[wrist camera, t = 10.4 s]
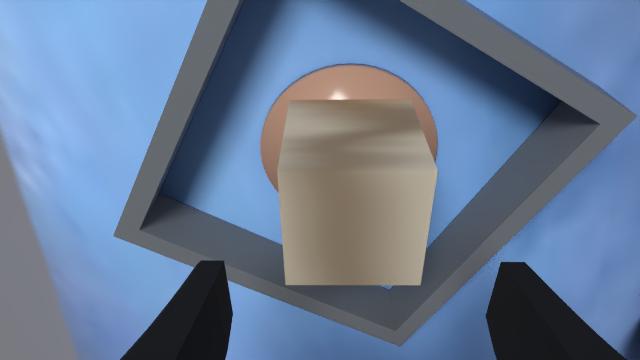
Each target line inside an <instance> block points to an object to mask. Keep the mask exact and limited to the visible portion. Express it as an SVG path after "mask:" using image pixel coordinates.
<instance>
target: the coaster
mask: <svg viewBox="0 0 640 360" xmlns="http://www.w3.org/2000/svg"><path fill="white" fill-rule="evenodd" d="M347 99H411V101H412V104H413V106H414V109H415V112H416V114H417V117H418V120H419V122H420V125H421V127H422V130H423V133H424V135H425V138H426V141H427V143H428V146H429V149H430V151H431V154H432V157H433V159H434V162H435V158H436V154H437V142H438V141H437V131H436V127H435V123H434V120H433V117H432V115H431V113H430V110H429V108H428V106H427V104H426V103H425V101H424V100H423V98H422V97H421V96H420V94H419V93H418V92H417V91H416V90H415V89H414V88H413V87H412V86H411V85H410V84H409V83H408V82H406V81H405V80H403V79H402V78H400V77H399V76H397V75H395V74H393V73H391V72H389V71H387V70H384V69H381V68H378V67H375V66H370V65H364V64H350V63H349V64H337V65H332V66H327V67H323V68H320V69H317V70H314V71H312V72H310V73H308V74H306V75H304V76H302V77H300V78H299V79H297V80H296V81H295V82H293V83H292V84H291V85H289V86H288V87H287V88H286V89H285V90H284V91H283V92H282V93H281V94H280V95H279V97H278V98H277V99H276V100H275V102H274V104H273V105H272V107H271V108H270V110H269V113H268V115H267V117H266V120H265V123H264V127H263V131H262V136H261V157H262V163H263V166H264V169H265V172H266V174H267V176H268V178H269V180H270V182H271V183H272V185H273V186H274V188H275V189H276V190H277V192H278V193H279V189H278V175H277V170H278V164H279V158H280V152H281V146H282V140H283V134H284V129H285V123H286V117H287V111H288V105H289V100H347Z"/></svg>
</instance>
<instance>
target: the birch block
mask: <svg viewBox="0 0 640 360" xmlns="http://www.w3.org/2000/svg"><path fill="white" fill-rule="evenodd" d="M437 173H438V170H437V167H436V165H435V162H434V159H433V157H432V154H431V151H430V149H429V146H428V143H427V141H426V138H425V135H424V133H423V130H422V127H421V125H420V122H419V120H418V117H417V114H416V112H415V109H414V106H413V104H412V101H411V99H347V100H289V105H288V111H287V117H286V123H285V129H284V134H283V140H282V146H281V152H280V158H279V164H278V170H277V175H278V189H279V202H280V216H281V230H282V243H283V257H284V271H285V284H286V285H421V279H422V272H423V265H424V259H425V252H426V246H427V239H428V233H429V226H430V219H431V213H432V206H433V200H434V193H435V187H436V180H437Z"/></svg>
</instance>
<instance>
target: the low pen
mask: <svg viewBox="0 0 640 360" xmlns="http://www.w3.org/2000/svg"><path fill="white" fill-rule="evenodd" d="M400 1H401V2H403V3H405V4H406V5H408V6H409V7H411V8H413V9H414V10H416V11H417V12H419V13H421V14H422V15H424V16H426V17H427V18H429V19H430V20H432V21H434V22H435V23H437V24H439V25H440V26H442V27H443V28H445V29H447V30H448V31H450V32H452V33H453V34H455V35H456V36H458V37H460V38H461V39H463V40H465V41H466V42H468V43H469V44H471V45H473V46H474V47H476V48H478V49H479V50H481V51H482V52H484V53H486V54H487V55H489V56H491V57H492V58H494V59H495V60H497V61H499V62H500V63H502V64H503V65H505V66H507V67H508V68H510V69H512V70H513V71H515V72H516V73H518V74H520V75H521V76H523V77H525V78H526V79H528V80H529V81H531V82H533V83H534V84H536V85H538V86H539V87H541V88H542V89H544V90H546V91H547V92H549V93H551V94H552V95H554V96H555V97H557V98H559V99H560V100H562V101H561V102H560V104H559V105H558V106H557V107H556V108H555V109H554V110H553V111H552V112H551V113H550V114H549V116H548V117H547V118H546V119H545V120H544V121H543V122H542V123H541V124H540V125H539V127H538V128H537V129H536V130H535V131H534V132H533V133H532V134H531V135H530V136H529V138H528V139H527V140H526V141H525V142H524V143H523V144H522V145H521V146H520V147H519V149H518V150H517V151H516V152H515V153H514V154H513V155H512V156H511V157H510V158H509V159H508V161H507V162H506V163H505V164H504V165H503V166H502V167H501V168H500V169H499V170H498V172H497V173H496V174H495V175H494V176H493V177H492V178H491V179H490V180H489V181H488V183H487V184H486V185H485V186H484V187H483V188H482V189H481V190H480V191H479V192H478V194H477V195H476V196H475V197H474V198H473V199H472V200H471V201H470V202H469V203H468V205H467V206H466V207H465V208H464V209H463V210H462V211H461V212H460V213H459V214H458V215H457V217H456V218H455V219H454V220H453V221H452V222H451V223H450V224H449V225H448V226H447V228H446V229H445V230H444V231H443V232H442V233H441V234H440V235H439V236H438V237H437V239H436V240H435V241H434V242H433V243H432V244H431V245H430V246H429V247H428V248H427V250H426V252H425V259H424V265H423V272H422V279H421V285H394V286H393V287H392V288H391V289H390V290H387V289H385V288H383V287H380V286H378V285H286V284H285V271H284V257H283V245H280V244H278V243H276V242H273V241H271V240H268V239H266V238H264V237H261V236H259V235H256V234H254V233H252V232H249V231H247V230H245V229H242V228H240V227H237V226H235V225H233V224H230V223H228V222H226V221H223V220H221V219H218V218H216V217H214V216H211V215H209V214H206V213H204V212H202V211H199V210H197V209H195V208H192V207H190V206H187V205H185V204H183V203H180V202H178V201H176V200H173V199H171V198H168V197H166V196H164V195H161V194H159V192H160V190H161V187H162V185H163V183H164V180H165V178H166V176H167V174H168V171H169V169H170V167H171V165H172V162H173V160H174V158H175V156H176V153H177V151H178V149H179V146H180V144H181V142H182V140H183V137H184V135H185V133H186V131H187V128H188V126H189V124H190V122H191V119H192V117H193V115H194V112H195V110H196V108H197V106H198V103H199V101H200V99H201V97H202V94H203V92H204V90H205V88H206V85H207V83H208V81H209V79H210V76H211V74H212V72H213V69H214V67H215V65H216V63H217V60H218V58H219V56H220V54H221V51H222V49H223V47H224V45H225V42H226V40H227V38H228V35H229V33H230V31H231V29H232V26H233V24H234V22H235V20H236V17H237V15H238V13H239V11H240V8H241V6H242V4H243V2H244V0H207V3H206V5H205V8H204V10H203V13H202V15H201V18H200V20H199V23H198V25H197V28H196V30H195V33H194V35H193V38H192V40H191V43H190V45H189V48H188V50H187V53H186V55H185V58H184V60H183V63H182V65H181V68H180V70H179V73H178V75H177V78H176V80H175V83H174V85H173V88H172V90H171V93H170V95H169V98H168V100H167V103H166V105H165V108H164V110H163V113H162V115H161V118H160V120H159V123H158V125H157V128H156V130H155V133H154V135H153V138H152V140H151V143H150V145H149V148H148V150H147V153H146V155H145V158H144V160H143V163H142V165H141V168H140V170H139V173H138V175H137V178H136V181H135V183H134V186H133V188H132V191H131V193H130V196H129V198H128V201H127V203H126V206H125V208H124V211H123V213H122V216H121V218H120V221H119V223H118V226H117V228H116V231H115V233H114V237H117V238H120V239H122V240H125V241H127V242H130V243H133V244H135V245H138V246H140V247H143V248H146V249H148V250H151V251H153V252H156V253H159V254H161V255H164V256H166V257H169V258H172V259H174V260H177V261H179V262H182V263H185V264H187V265H190V266H192V267H195V266H196V265H197V264H198V263H199V262H200V261H201V260H223V261H224V263H225V269H226V275H227V280H229V281H231V282H234V283H236V284H239V285H242V286H244V287H247V288H249V289H252V290H255V291H257V292H260V293H262V294H265V295H268V296H270V297H273V298H275V299H278V300H281V301H283V302H286V303H288V304H291V305H293V306H296V307H299V308H301V309H304V310H306V311H309V312H312V313H314V314H317V315H319V316H322V317H325V318H327V319H330V320H332V321H335V322H338V323H340V324H343V325H345V326H348V327H351V328H353V329H356V330H358V331H361V332H364V333H366V334H369V335H371V336H374V337H377V338H379V339H382V340H384V341H387V342H389V343H392V344H395V345H397V346H401V345H402V344H403V343H404V342H405V341H406V340H407V339H408V338H409V337H410V336H411V335H412V334H414V333H415V332H416V331H417V330H418V329H419V328H420V327H421V326H422V325H423V324H424V323H425V322H426V321H427V320H428V319H429V318H430V317H431V316H432V315H433V314H434V313H435V312H436V311H437V310H438V309H439V308H440V307H441V306H442V305H443V304H444V303H445V302H446V301H447V300H449V299H450V298H451V297H452V296H453V295H454V294H455V293H456V292H457V291H458V290H459V289H460V288H461V287H462V286H463V285H464V284H465V283H466V282H467V281H468V280H469V279H470V278H471V277H472V276H473V275H474V274H475V273H476V272H477V271H478V270H479V269H480V268H481V267H482V266H483V265H485V264H486V263H487V262H488V261H489V260H490V259H491V258H492V257H493V256H494V255H495V254H496V253H497V252H498V251H499V250H500V249H501V248H502V247H503V246H504V245H505V244H506V243H507V242H508V241H509V240H510V239H511V238H512V237H513V236H514V235H515V234H516V233H517V232H518V231H520V230H521V229H522V228H523V227H524V226H525V225H526V224H527V223H528V222H529V221H530V220H531V219H532V218H533V217H534V216H535V215H536V214H537V213H538V212H539V211H540V210H541V209H542V208H543V207H544V206H545V205H546V204H547V203H548V202H549V201H550V200H551V199H552V198H553V197H554V196H556V195H557V194H558V193H559V192H560V191H561V190H562V189H563V188H564V187H565V186H566V185H567V184H568V183H569V182H570V181H571V180H572V179H573V178H574V177H575V176H576V175H577V174H578V173H579V172H580V171H581V170H582V169H583V168H584V167H585V166H586V165H587V164H588V163H589V162H591V161H592V160H593V159H594V158H595V157H596V156H597V155H598V154H599V153H600V152H601V151H602V150H603V149H604V148H605V147H606V146H607V145H608V144H609V143H610V142H611V141H612V140H613V139H614V138H615V137H616V136H617V135H618V134H619V133H620V132H621V131H622V130H623V129H624V128H625V127H627V126H628V125H629V124H630V123H631V122H632V121H633V120H634V119H635V118H636V117H637V115H636V114H634V113H633V112H632V111H630V110H629V109H628V108H626V107H625V106H624V105H622V104H621V103H620V102H619V101H617V100H616V99H615V98H613V97H612V96H611V95H609V94H608V93H607V92H606V91H604V90H603V89H602V88H600V87H599V86H597V85H596V84H594V83H593V82H591V81H590V80H588V79H586V78H585V77H583V76H582V75H580V74H579V73H577V72H576V71H574V70H573V69H571V68H569V67H568V66H566V65H565V64H563V63H562V62H560V61H559V60H557V59H555V58H554V57H552V56H551V55H549V54H548V53H546V52H545V51H543V50H541V49H540V48H538V47H537V46H535V45H534V44H532V43H531V42H529V41H528V40H526V39H524V38H523V37H521V36H520V35H518V34H517V33H515V32H514V31H512V30H510V29H509V28H507V27H506V26H504V25H503V24H501V23H500V22H498V21H497V20H495V19H493V18H492V17H490V16H489V15H487V14H486V13H484V12H483V11H481V10H479V9H478V8H476V7H475V6H473V5H472V4H470V3H469V2H467V1H465V0H400Z"/></svg>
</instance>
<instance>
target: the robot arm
mask: <svg viewBox="0 0 640 360" xmlns="http://www.w3.org/2000/svg"><path fill="white" fill-rule="evenodd" d="M232 316H233V312H232V306H231V300H230V293H229V287H228V281H227V275H226V269H225V263H224V261H223V260H201V261H200V262H199V263H198V264H197V265H196V266H195V268H194V269H193V271H192V272H191V273H190V275H189V276H188V278H187V279H186V280H185V282H184V283H183V284H182V286H181V287H180V288H179V290H178V291H177V292H176V294H175V295H174V296H173V298H172V299H171V300H170V302H169V303H168V304H167V305H166V307H165V308H164V309H163V310H162V312H161V313H160V314H159V315H158V317H157V318H156V319H155V320H154V322H153V323H152V324H151V325H150V326H149V328H148V329H147V330H146V331H145V332H144V333H143V334H142V336H141V337H140V338H139V339H138V340H137V341H136V342H135V344H134V345H133V346H132V347H131V348H130V349H129V350H128V351H127V353H126V354H125V355H124V356H123V357H122V358H121V359H120V360H225V358H226V354H227V350H228V343H229V337H230V330H231V323H232ZM486 319H487V323H488V327H489V332H490V336H491V340H492V344H493V348H494V352H495V355H496V358H497V360H626V359H625V358H624V357H623V356H622V355H621V354H619V353H618V352H617V351H616V350H615V349H614V348H612V347H611V346H610V345H609V344H608V343H607V342H606V341H605V340H603V339H602V338H601V337H600V336H599V335H598V334H597V333H596V332H595V331H594V330H593V329H592V328H590V327H589V326H588V325H587V324H586V323H585V322H584V321H583V320H582V319H581V318H580V317H579V316H578V315H577V314H576V313H575V312H574V311H573V310H572V309H571V308H570V307H569V306H568V305H567V304H566V303H565V302H564V301H563V300H562V299H561V298H560V297H559V296H558V295H557V294H556V293H555V292H554V291H553V290H552V289H551V288H550V287H549V286H548V285H547V284H546V283H545V282H544V281H543V280H542V279H541V278H540V277H539V276H538V275H537V274H536V273H535V272H534V271H533V270H532V269H531V268H530V267H529V266H528V265H527V264H526V263H525V262H501V264H500V267H499V271H498V274H497V278H496V281H495V285H494V288H493V292H492V296H491V299H490V303H489V306H488V310H487V313H486Z"/></svg>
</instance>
